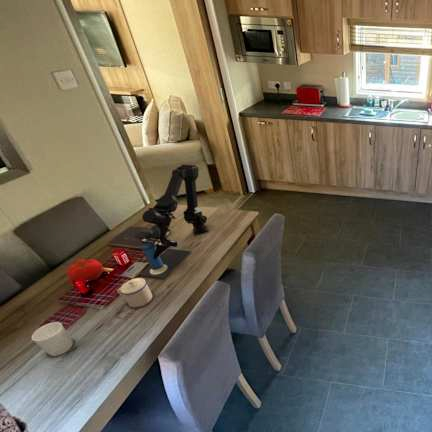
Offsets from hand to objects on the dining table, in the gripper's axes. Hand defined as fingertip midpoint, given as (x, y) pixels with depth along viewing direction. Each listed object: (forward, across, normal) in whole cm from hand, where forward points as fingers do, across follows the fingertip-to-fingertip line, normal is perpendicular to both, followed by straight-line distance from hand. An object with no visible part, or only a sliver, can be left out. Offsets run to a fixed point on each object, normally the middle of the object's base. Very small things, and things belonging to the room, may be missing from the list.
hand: (150, 257), depth 145 cm
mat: (+2, -1, +11) cm, 11 cm away
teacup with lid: (+18, +6, -5) cm, 20 cm away
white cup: (+37, +1, -23) cm, 43 cm away
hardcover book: (-6, -29, +19) cm, 35 cm away
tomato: (+16, -25, -2) cm, 30 cm away
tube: (+4, 0, +6) cm, 7 cm away
